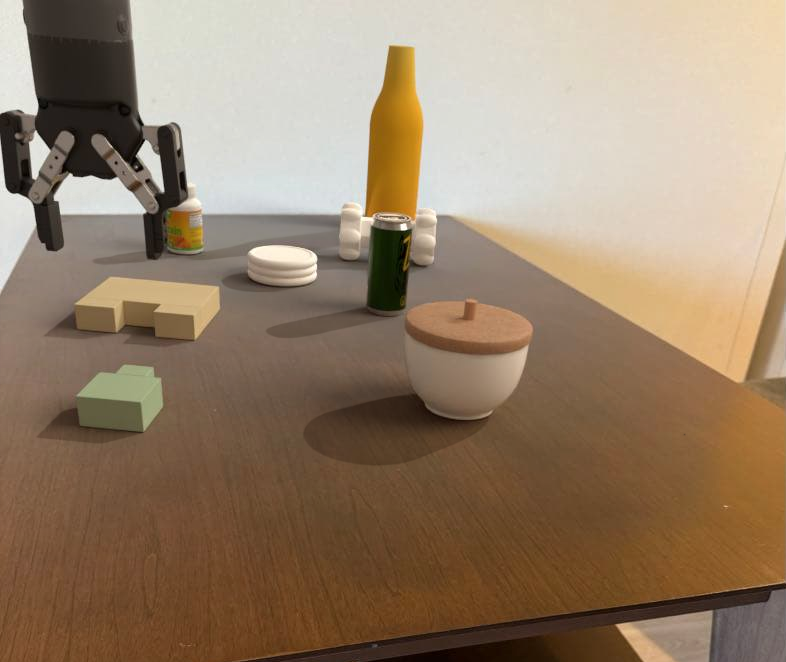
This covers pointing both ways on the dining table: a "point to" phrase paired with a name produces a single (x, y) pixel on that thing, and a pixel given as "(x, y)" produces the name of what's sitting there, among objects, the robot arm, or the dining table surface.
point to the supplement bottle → (186, 225)
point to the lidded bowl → (465, 356)
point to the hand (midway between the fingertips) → (104, 253)
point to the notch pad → (148, 307)
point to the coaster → (282, 265)
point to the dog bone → (358, 233)
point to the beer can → (388, 263)
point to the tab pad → (121, 399)
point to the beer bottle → (395, 139)
